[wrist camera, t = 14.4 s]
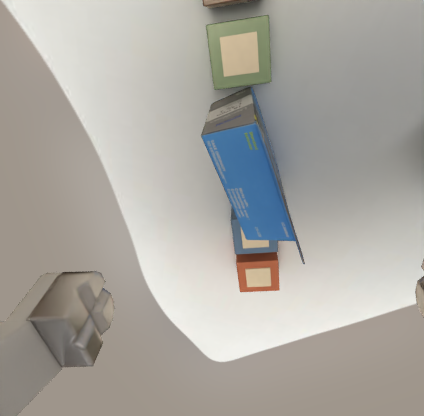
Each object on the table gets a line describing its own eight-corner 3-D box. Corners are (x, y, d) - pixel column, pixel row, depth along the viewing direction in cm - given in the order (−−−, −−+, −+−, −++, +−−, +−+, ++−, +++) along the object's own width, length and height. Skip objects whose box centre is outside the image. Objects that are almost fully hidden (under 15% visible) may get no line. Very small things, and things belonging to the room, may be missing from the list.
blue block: (231, 197, 31) (230, 220, 27) (272, 194, 30) (276, 217, 27) (235, 230, 33) (235, 255, 29) (273, 227, 32) (278, 253, 29)
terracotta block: (236, 237, 33) (236, 263, 30) (274, 235, 33) (278, 261, 29) (239, 266, 35) (240, 293, 32) (275, 264, 35) (279, 291, 31)
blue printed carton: (208, 102, 26) (188, 158, 16) (252, 84, 25) (263, 131, 15) (243, 190, 30) (245, 280, 20) (282, 177, 29) (307, 266, 19)
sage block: (210, 24, 23) (205, 25, 20) (264, 15, 23) (269, 14, 19) (217, 80, 25) (213, 90, 22) (266, 73, 25) (271, 82, 21)
